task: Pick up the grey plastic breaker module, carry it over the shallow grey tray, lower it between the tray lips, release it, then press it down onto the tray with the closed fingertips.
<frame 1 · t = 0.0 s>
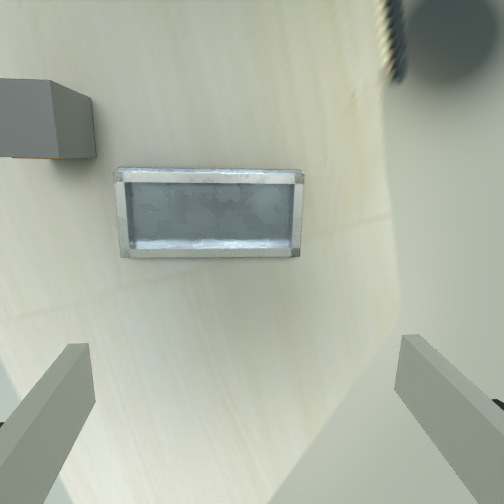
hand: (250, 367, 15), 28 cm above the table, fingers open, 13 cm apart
module: (69, 127, 37), on the table
shallow grey tray: (212, 212, 41), on the table
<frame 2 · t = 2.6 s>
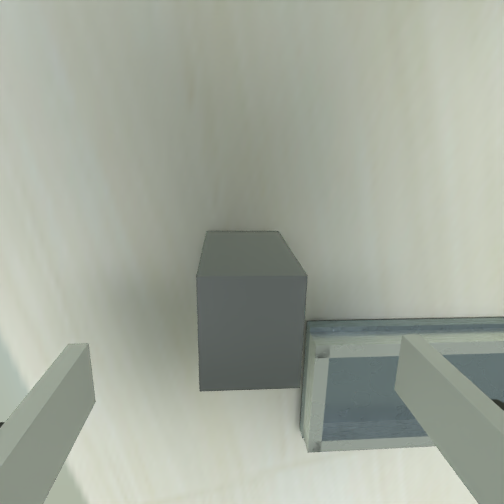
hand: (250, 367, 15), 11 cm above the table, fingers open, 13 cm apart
module: (242, 272, 25), on the table
shallow grey tray: (422, 373, 29), on the table
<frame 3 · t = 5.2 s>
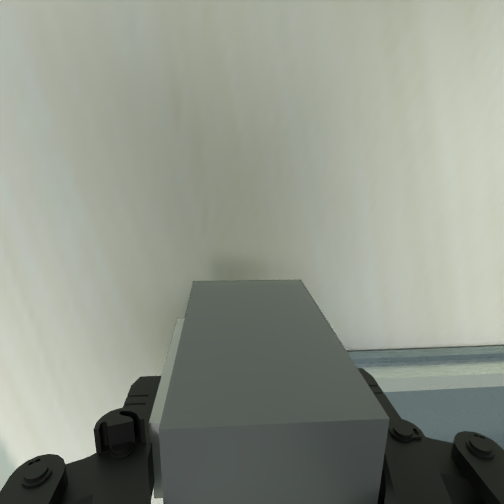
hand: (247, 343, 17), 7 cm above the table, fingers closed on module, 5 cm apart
module: (247, 338, 17), point 6 cm above the table, touching gripper
shallow grey tray: (428, 407, 27), on the table
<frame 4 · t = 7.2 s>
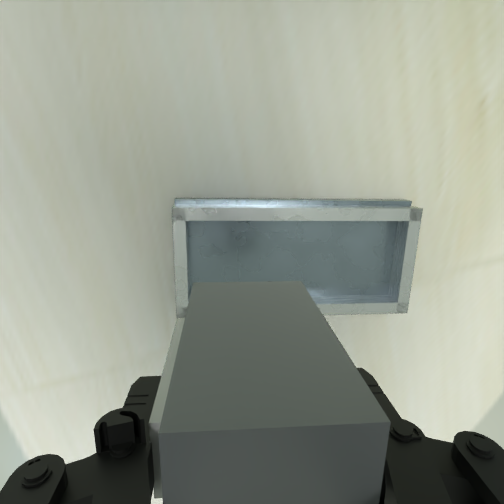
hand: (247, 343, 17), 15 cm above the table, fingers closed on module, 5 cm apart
module: (247, 340, 17), point 15 cm above the table, touching gripper
shallow grey tray: (291, 254, 31), on the table
when the fingers open (2 cm above the table, at t = 9.6 s): module stays where it is, resting on shallow grey tray.
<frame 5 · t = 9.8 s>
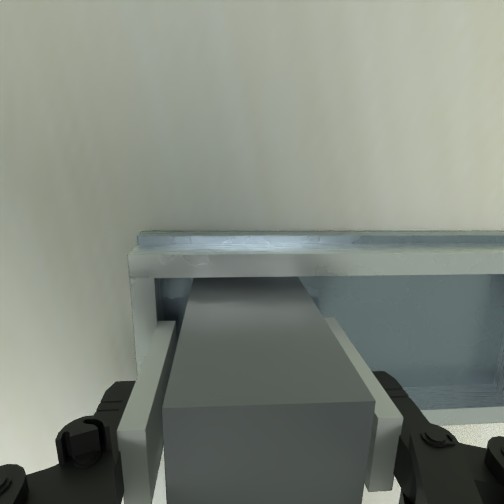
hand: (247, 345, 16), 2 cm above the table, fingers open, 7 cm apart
module: (245, 332, 18), point 1 cm above the table, touching shallow grey tray
shallow grey tray: (336, 321, 19), on the table
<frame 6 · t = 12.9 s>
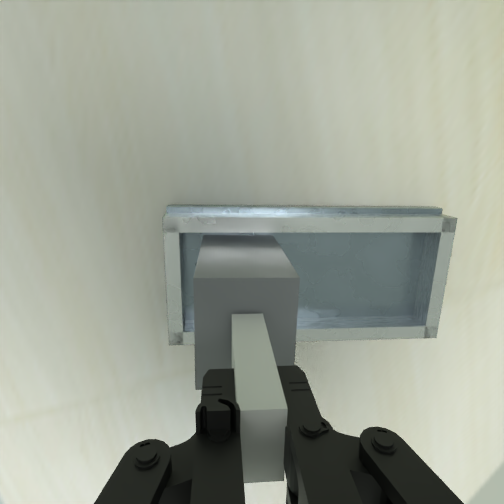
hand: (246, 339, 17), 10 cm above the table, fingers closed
module: (237, 274, 26), point 1 cm above the table, touching gripper, shallow grey tray
shallow grey tray: (302, 270, 27), on the table
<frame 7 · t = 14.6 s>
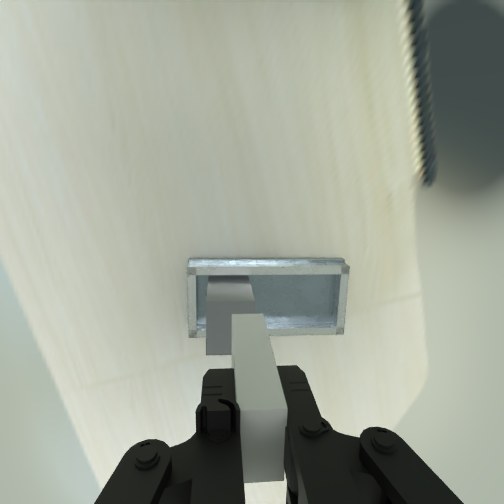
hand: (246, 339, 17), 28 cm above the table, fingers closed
module: (228, 297, 45), point 1 cm above the table, touching shallow grey tray
shallow grey tray: (266, 294, 46), on the table
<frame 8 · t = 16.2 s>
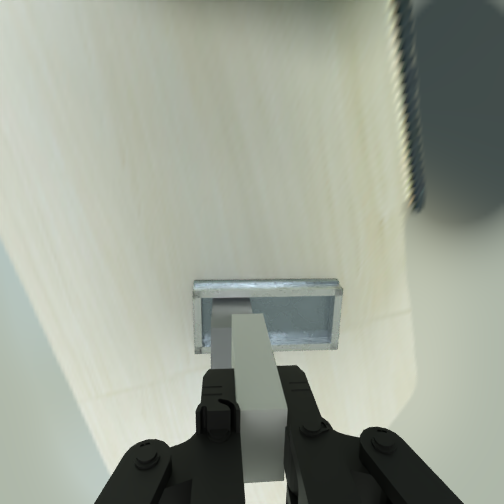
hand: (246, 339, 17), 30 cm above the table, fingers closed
module: (230, 316, 49), point 1 cm above the table, touching shallow grey tray
shallow grey tray: (265, 312, 50), on the table
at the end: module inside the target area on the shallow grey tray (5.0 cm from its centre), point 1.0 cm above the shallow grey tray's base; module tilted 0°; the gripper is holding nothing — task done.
